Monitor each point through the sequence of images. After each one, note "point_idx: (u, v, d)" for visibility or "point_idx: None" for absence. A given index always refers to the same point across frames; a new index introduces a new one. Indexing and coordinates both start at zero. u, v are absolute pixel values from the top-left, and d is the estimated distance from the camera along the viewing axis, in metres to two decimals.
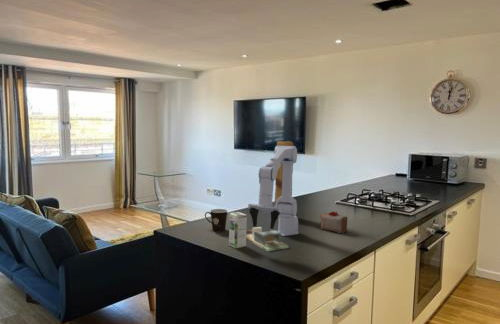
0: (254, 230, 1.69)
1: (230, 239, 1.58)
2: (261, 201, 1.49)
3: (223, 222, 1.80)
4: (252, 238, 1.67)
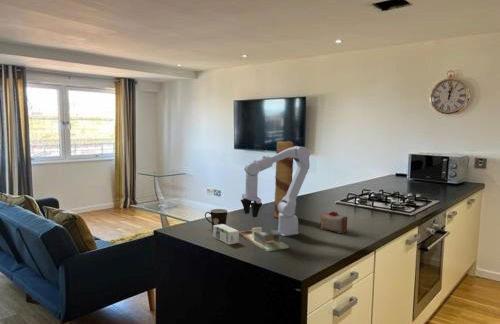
0: (254, 230, 1.69)
1: (225, 240, 1.62)
2: (245, 193, 1.73)
3: (223, 222, 1.80)
4: (252, 238, 1.67)
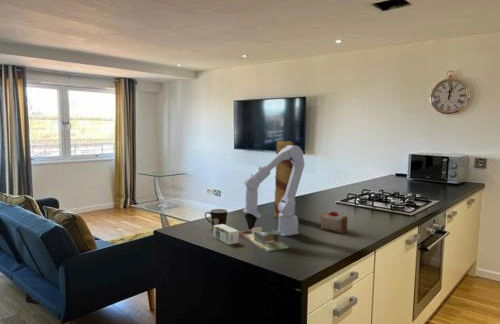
0: (254, 230, 1.69)
1: (225, 240, 1.62)
2: (245, 207, 1.74)
3: (223, 222, 1.80)
4: (252, 238, 1.67)
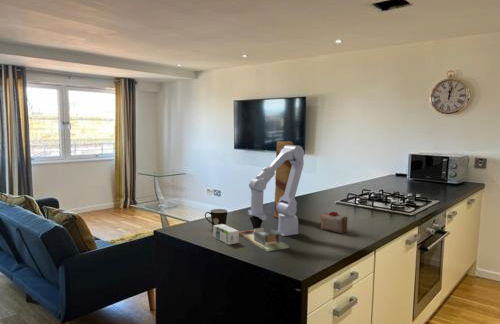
0: (256, 231, 1.68)
1: (225, 240, 1.62)
2: (251, 209, 1.69)
3: (223, 222, 1.80)
4: (252, 238, 1.67)
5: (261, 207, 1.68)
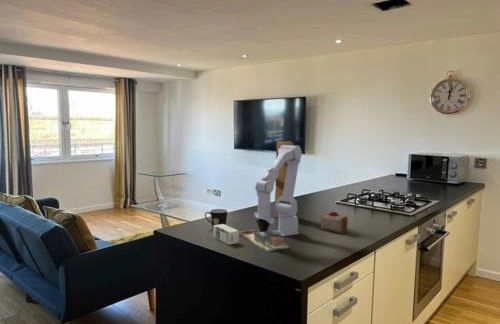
0: None
1: (225, 240, 1.62)
2: (257, 212, 1.64)
3: (223, 222, 1.80)
4: (252, 238, 1.67)
5: (268, 210, 1.62)
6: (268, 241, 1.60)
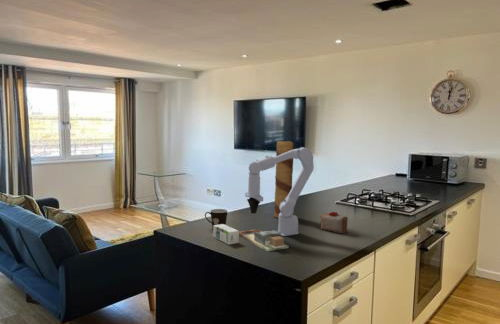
0: None
1: (225, 240, 1.62)
2: (248, 191, 1.77)
3: (223, 222, 1.80)
4: (252, 238, 1.67)
5: (258, 189, 1.76)
6: (268, 241, 1.60)
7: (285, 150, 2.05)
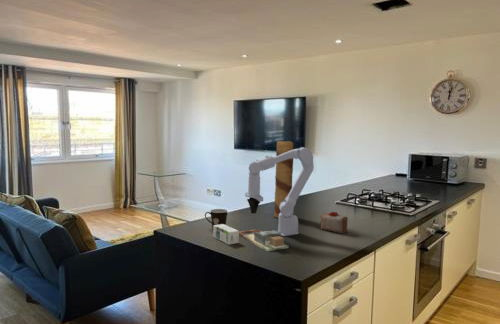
0: None
1: (225, 240, 1.62)
2: (248, 191, 1.77)
3: (223, 222, 1.80)
4: (252, 238, 1.67)
5: (258, 189, 1.76)
6: (268, 241, 1.60)
7: (285, 150, 2.05)
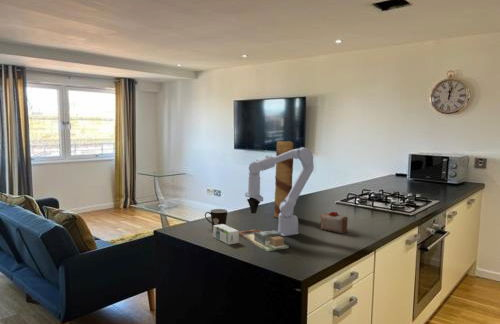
0: None
1: (225, 240, 1.62)
2: (248, 191, 1.77)
3: (223, 222, 1.80)
4: (252, 238, 1.67)
5: (258, 189, 1.76)
6: (268, 241, 1.60)
7: (285, 150, 2.05)
